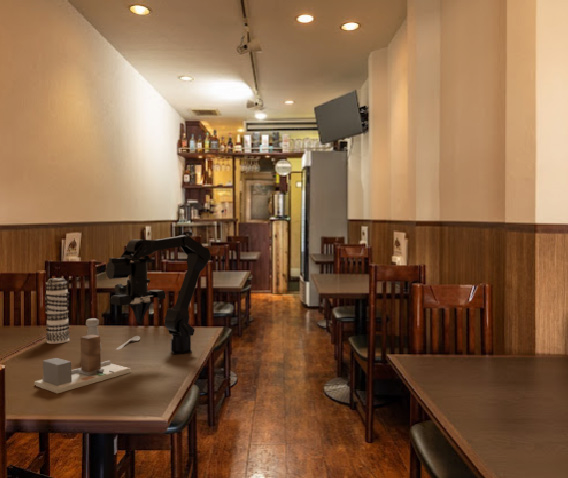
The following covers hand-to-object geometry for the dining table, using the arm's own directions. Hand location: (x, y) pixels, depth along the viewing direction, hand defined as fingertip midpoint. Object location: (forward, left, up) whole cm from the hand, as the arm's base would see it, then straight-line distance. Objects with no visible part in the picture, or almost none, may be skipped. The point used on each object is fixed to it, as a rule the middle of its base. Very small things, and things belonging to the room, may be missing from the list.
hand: (139, 322), depth 170 cm
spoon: (+3, -26, -14) cm, 30 cm away
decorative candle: (+28, -43, -13) cm, 53 cm away
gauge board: (+17, +14, -13) cm, 26 cm away
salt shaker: (+15, -14, -13) cm, 24 cm away
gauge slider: (+15, +14, -12) cm, 23 cm away
